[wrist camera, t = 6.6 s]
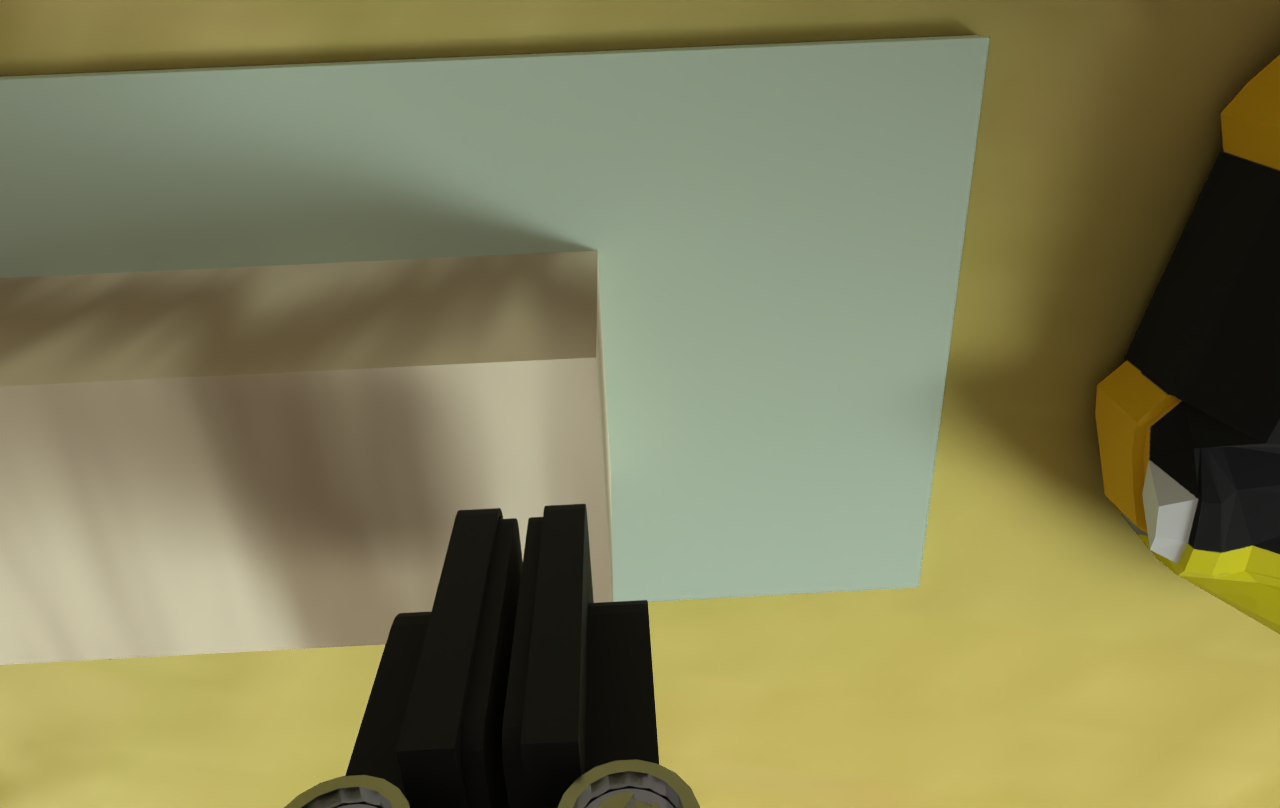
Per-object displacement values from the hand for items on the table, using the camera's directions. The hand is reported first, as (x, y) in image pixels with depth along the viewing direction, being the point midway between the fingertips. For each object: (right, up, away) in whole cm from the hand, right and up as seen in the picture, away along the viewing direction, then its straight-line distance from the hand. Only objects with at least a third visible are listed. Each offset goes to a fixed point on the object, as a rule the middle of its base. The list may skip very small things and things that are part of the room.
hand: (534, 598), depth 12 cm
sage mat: (-2, +3, +7) cm, 8 cm away
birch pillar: (+1, +2, +4) cm, 5 cm away
